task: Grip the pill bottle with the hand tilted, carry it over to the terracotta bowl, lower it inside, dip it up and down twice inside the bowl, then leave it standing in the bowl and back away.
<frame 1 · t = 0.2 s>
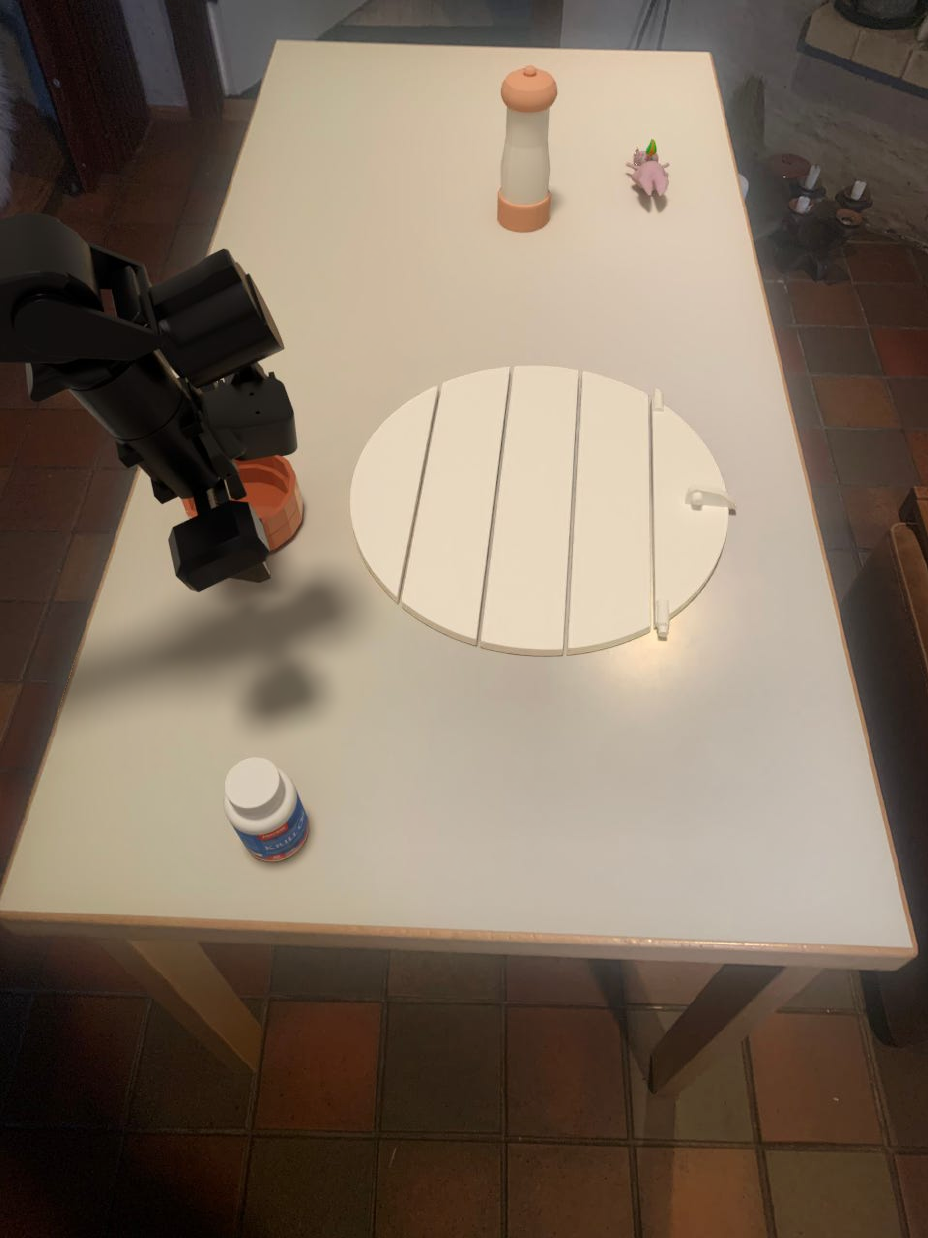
hand: (252, 536, 69), 13 cm above the table, tool pointing down, fingers open, 9 cm apart
bowl: (249, 518, 87), on the table
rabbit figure: (647, 187, 122), on the table
pill bottle: (277, 831, 69), on the table
round slatted board: (540, 498, 89), on the table
salt shaker: (522, 218, 118), on the table
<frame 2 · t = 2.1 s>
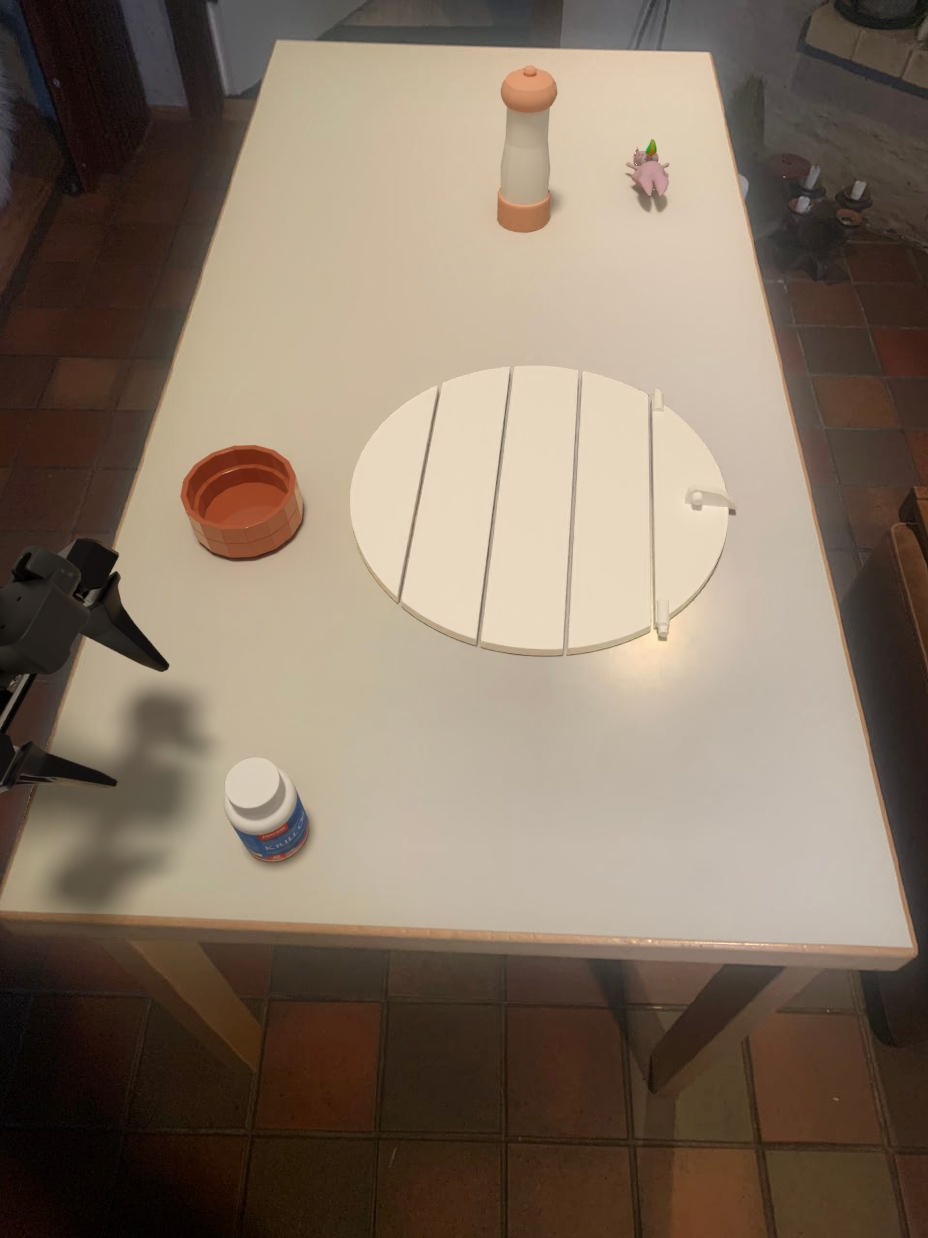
hand: (141, 724, 59), 14 cm above the table, tool tilted 40°, fingers open, 9 cm apart
nothing on the table moved.
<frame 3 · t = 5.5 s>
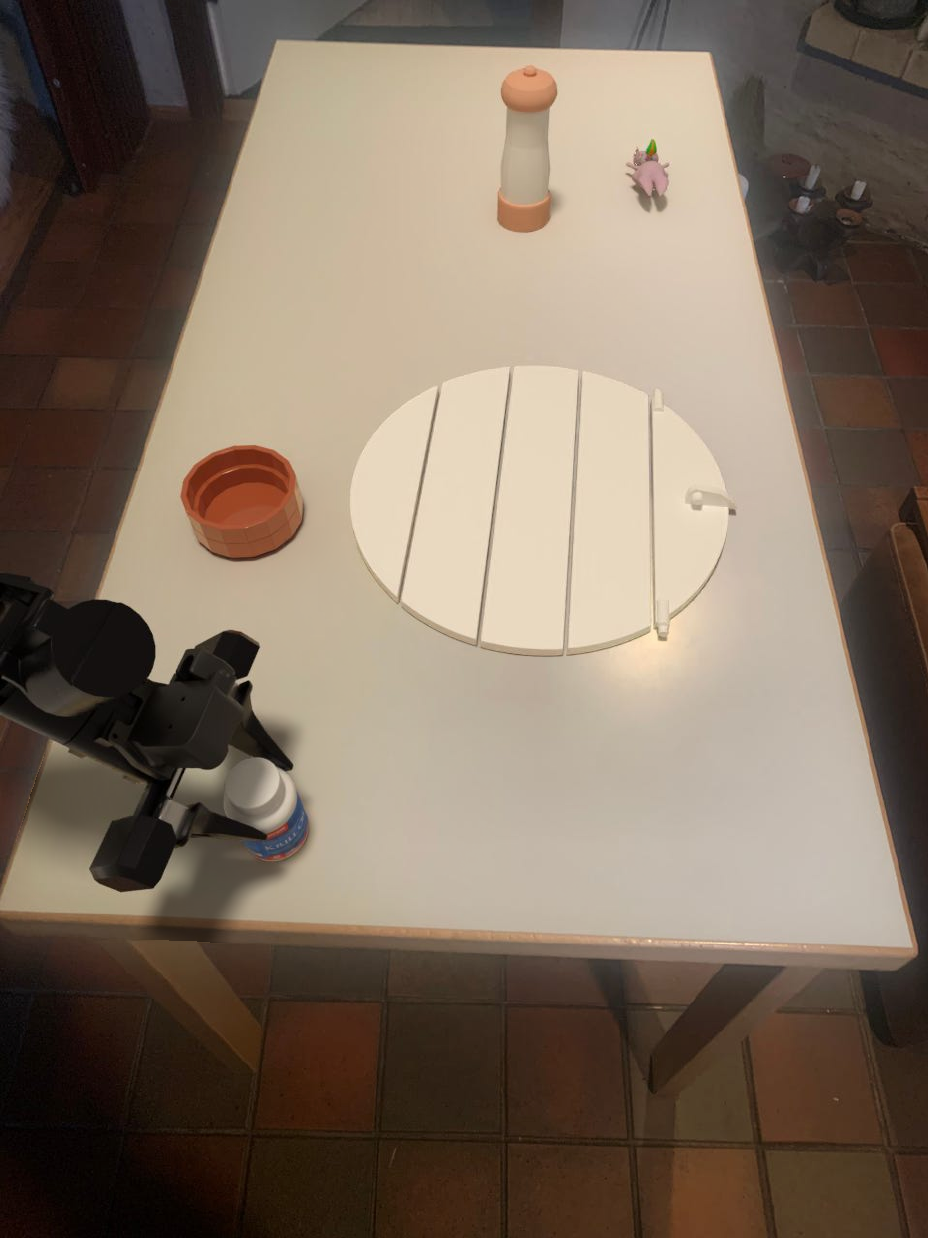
hand: (277, 803, 63), 7 cm above the table, tool tilted 45°, fingers closed on pill bottle, 5 cm apart
pill bottle: (277, 830, 69), on the table, touching gripper
everything else where it was.
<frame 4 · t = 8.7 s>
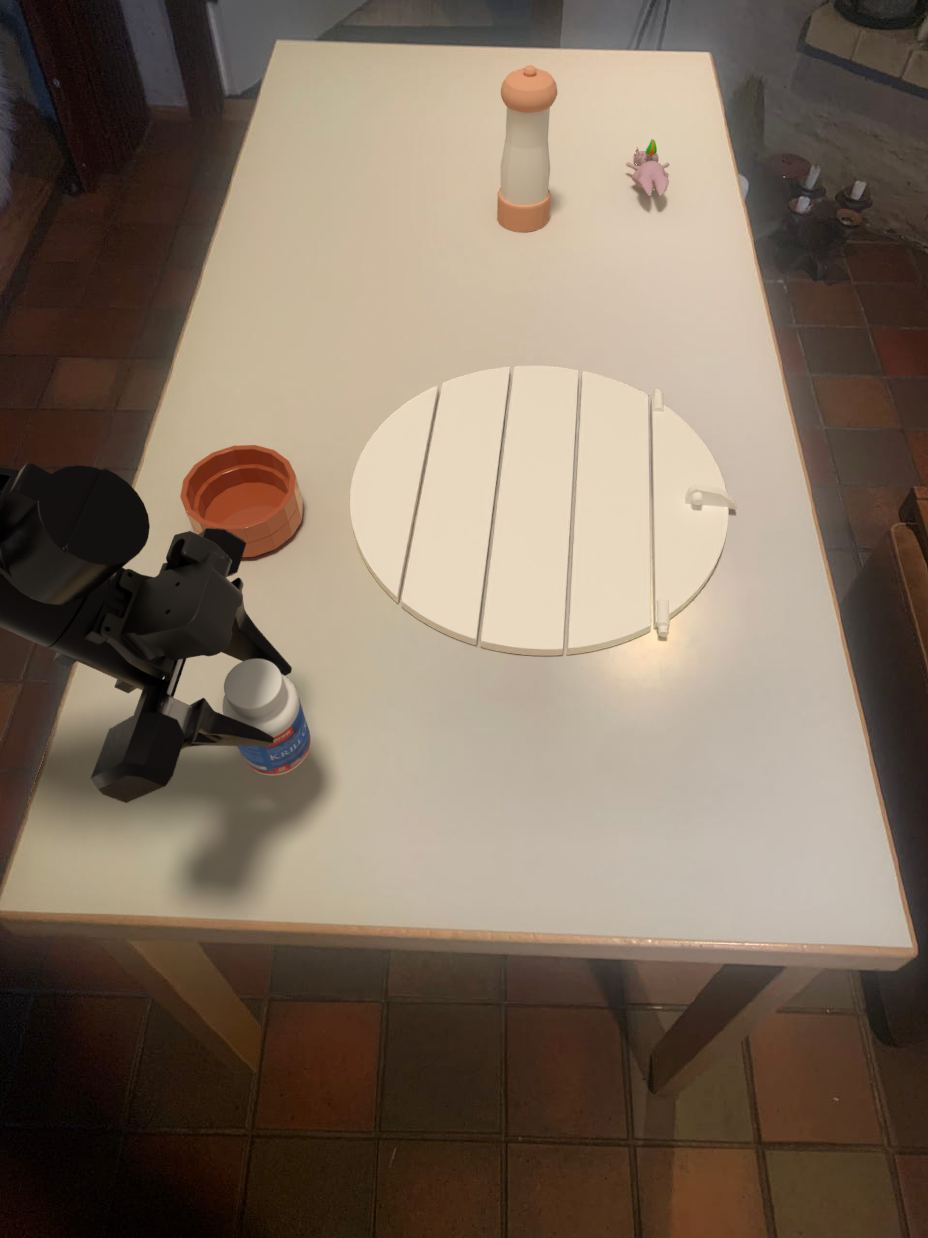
hand: (279, 707, 60), 13 cm above the table, tool tilted 45°, fingers closed on pill bottle, 5 cm apart
pill bottle: (278, 746, 66), point 6 cm above the table, touching gripper
everything else where it was.
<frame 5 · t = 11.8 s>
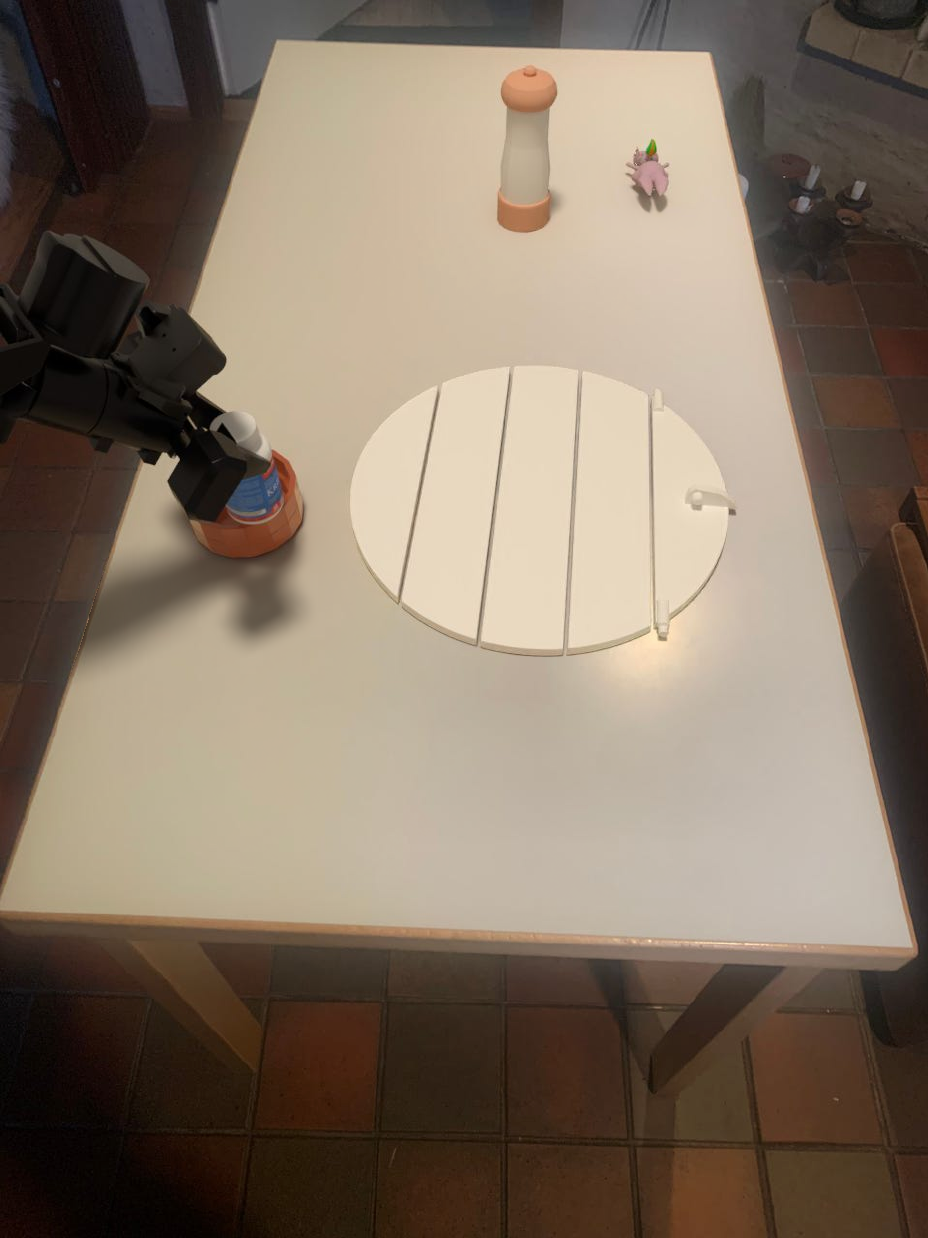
hand: (254, 448, 74), 13 cm above the table, tool tilted 45°, fingers closed on pill bottle, 5 cm apart
pill bottle: (256, 505, 80), point 6 cm above the table, touching gripper
everything else where it was.
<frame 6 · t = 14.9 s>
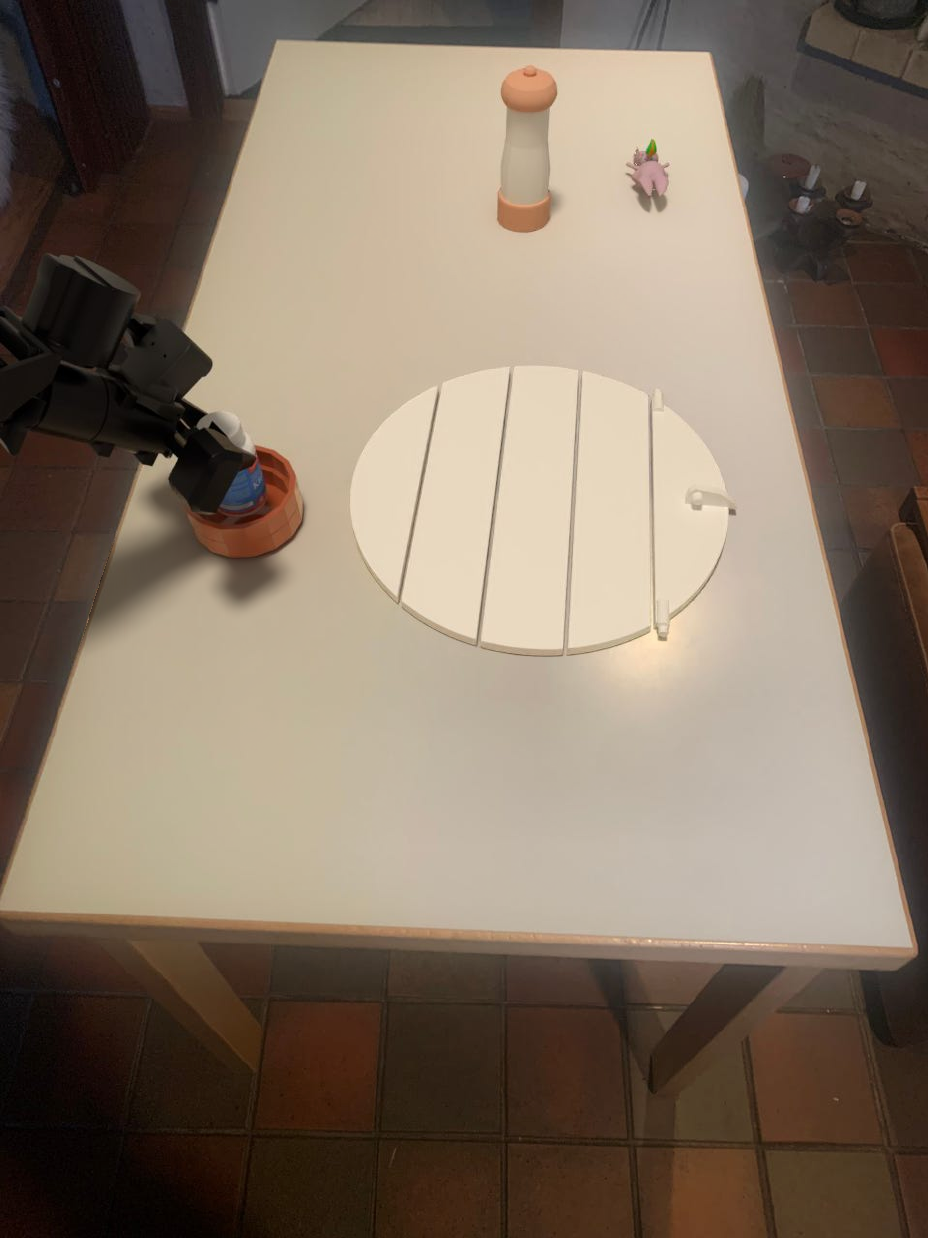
hand: (238, 444, 80), 10 cm above the table, tool tilted 45°, fingers closed on pill bottle, 5 cm apart
pill bottle: (242, 500, 85), point 3 cm above the table, touching gripper
everything else where it was.
when the fingers open (7 cm above the table, at t = 18.1 s): pill bottle stays where it is, resting on bowl.
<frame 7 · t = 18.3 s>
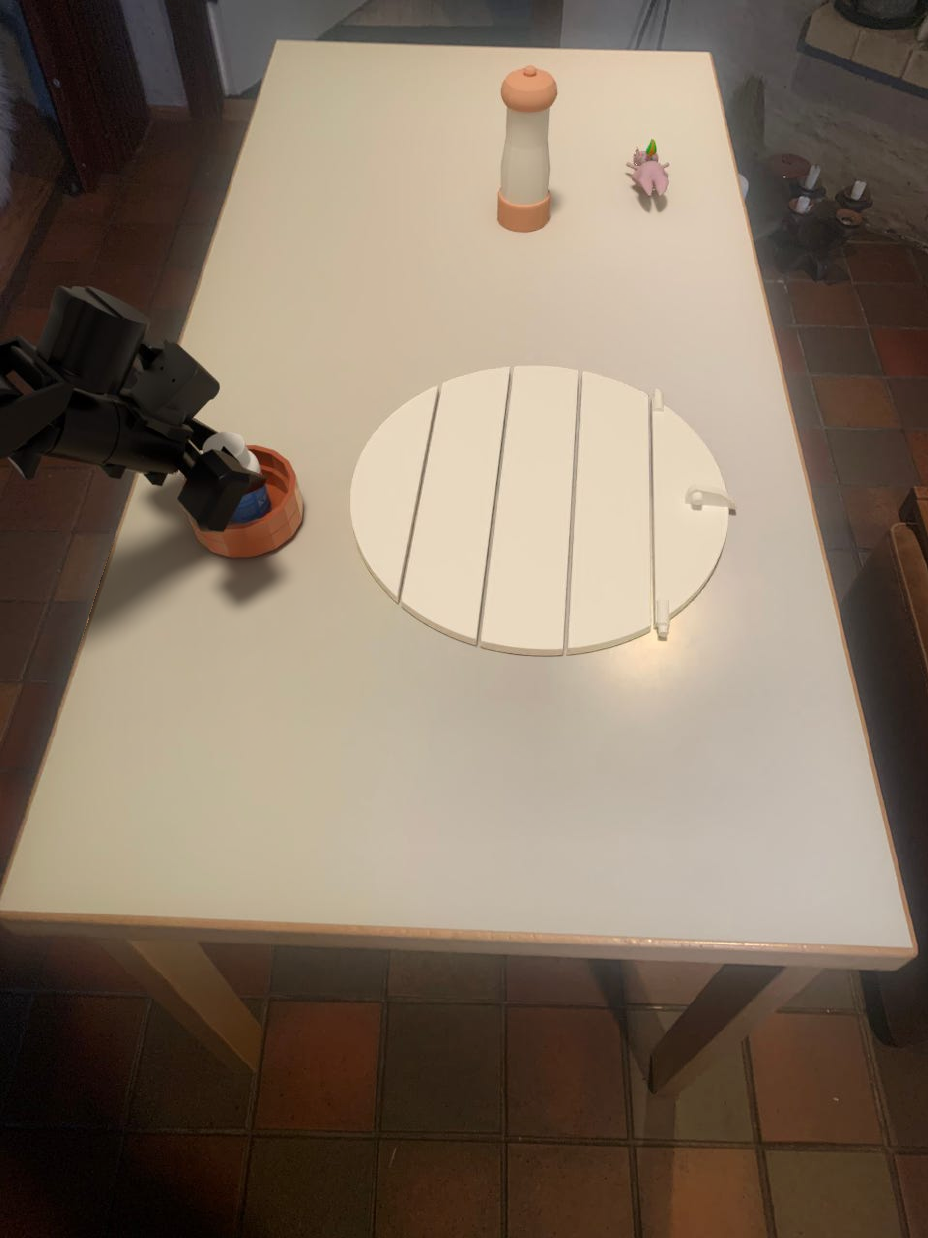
hand: (244, 462, 82), 7 cm above the table, tool tilted 45°, fingers open, 7 cm apart
pill bottle: (247, 516, 87), resting on bowl
everything else where it was.
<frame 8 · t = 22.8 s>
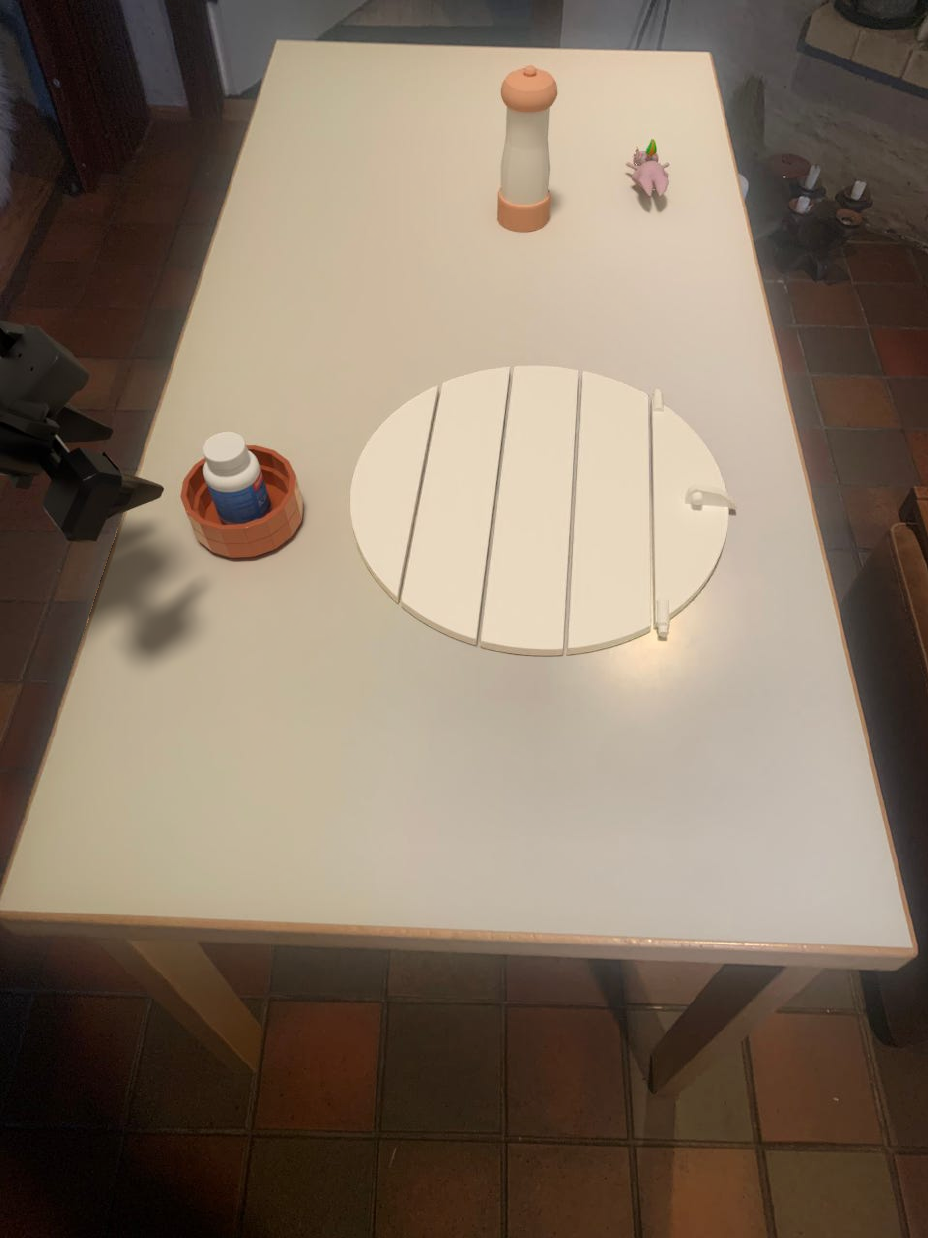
hand: (135, 462, 73), 14 cm above the table, tool tilted 45°, fingers open, 9 cm apart
nothing on the table moved.
at the end: pill bottle 0.1 cm off-centre in the bowl, point 0.4 cm above the bowl's base; pill bottle tilted 0°; the gripper is holding nothing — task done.
